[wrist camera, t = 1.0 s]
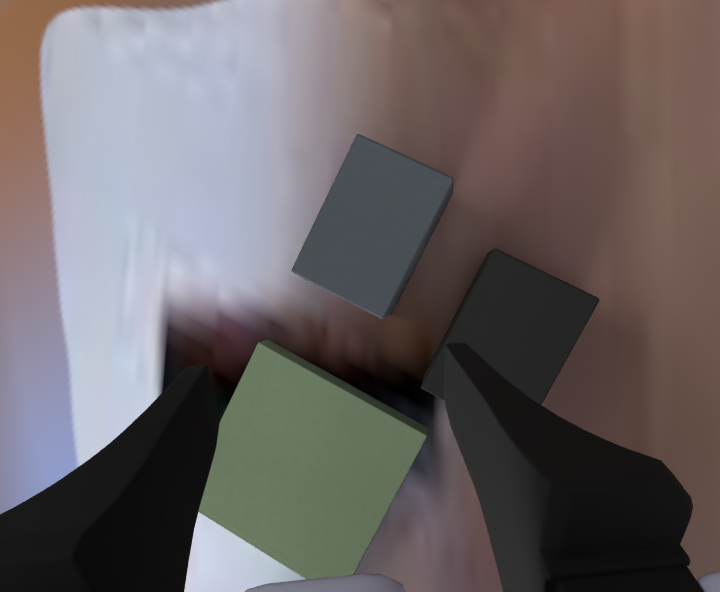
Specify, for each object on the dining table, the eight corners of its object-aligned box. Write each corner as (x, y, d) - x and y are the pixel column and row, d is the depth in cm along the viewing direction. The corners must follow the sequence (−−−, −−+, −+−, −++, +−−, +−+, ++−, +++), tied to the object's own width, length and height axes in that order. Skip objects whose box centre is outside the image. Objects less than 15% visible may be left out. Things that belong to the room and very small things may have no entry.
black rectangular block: (580, 296, 25) (600, 299, 21) (511, 421, 25) (520, 442, 22) (488, 252, 25) (494, 247, 22) (423, 374, 26) (420, 388, 23)
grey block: (453, 191, 26) (454, 178, 22) (390, 314, 26) (382, 319, 23) (368, 151, 26) (356, 132, 23) (309, 272, 27) (290, 271, 24)
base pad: (428, 427, 26) (427, 436, 25) (345, 584, 27) (339, 600, 26) (267, 339, 28) (258, 342, 26) (194, 491, 29) (181, 501, 27)
